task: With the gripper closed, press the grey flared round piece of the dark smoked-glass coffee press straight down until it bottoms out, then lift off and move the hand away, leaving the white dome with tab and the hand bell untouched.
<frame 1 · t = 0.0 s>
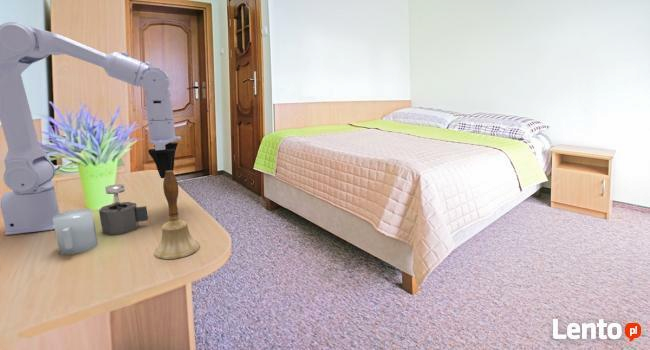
hand: (167, 174, 87), 10 cm above the table, tool pointing down, fingers open, 7 cm apart
grey flared round piece: (116, 200, 78), point 7 cm above the table, slide at 0.0 cm
white dome with tab: (79, 247, 70), on the table
hand bell: (177, 250, 69), on the table
press pot: (121, 228, 79), on the table
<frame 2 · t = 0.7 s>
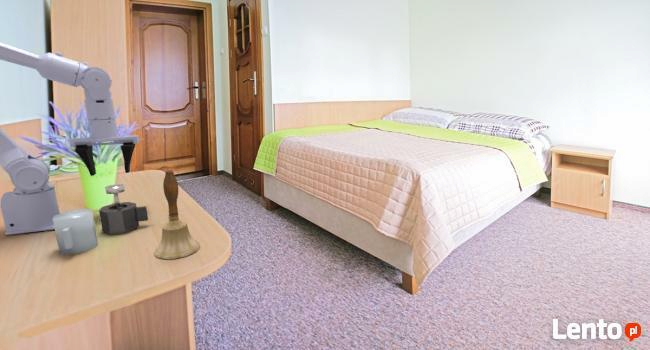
hand: (110, 173, 88), 10 cm above the table, tool pointing down, fingers open, 7 cm apart
nothing on the table moved.
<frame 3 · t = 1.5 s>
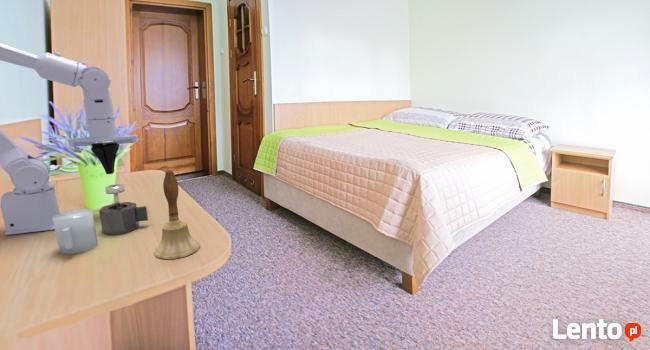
hand: (110, 173, 88), 10 cm above the table, tool pointing down, fingers closed
nothing on the table moved.
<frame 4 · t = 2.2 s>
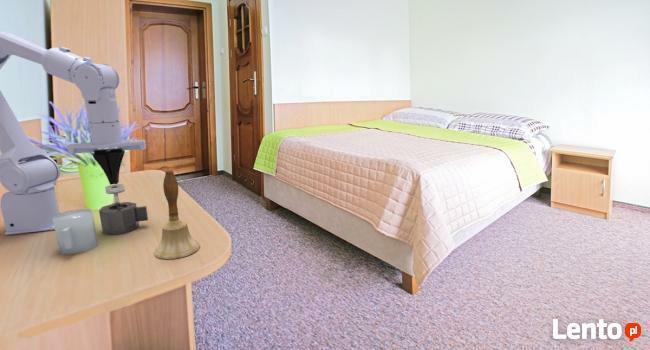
hand: (114, 183, 78), 10 cm above the table, tool pointing down, fingers closed
nothing on the table moved.
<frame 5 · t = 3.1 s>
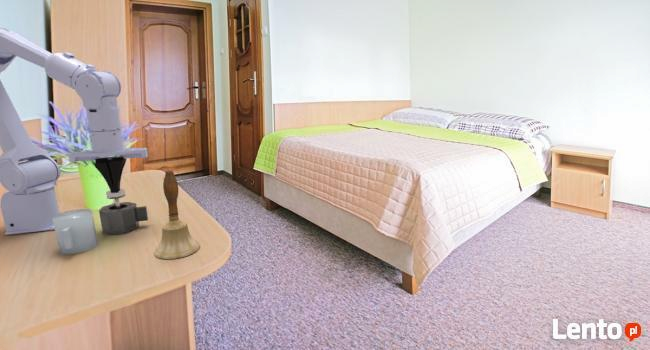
hand: (115, 191, 77), 9 cm above the table, tool pointing down, fingers closed, pressing on grey flared round piece
grey flared round piece: (117, 204, 78), point 6 cm above the table, slide at 1.1 cm, touching gripper
everything else where it was.
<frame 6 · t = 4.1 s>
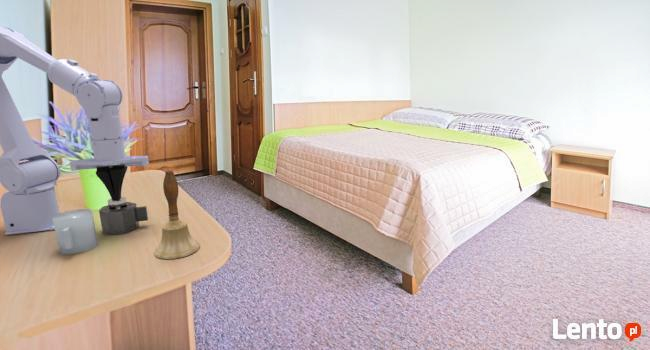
hand: (116, 199, 78), 7 cm above the table, tool pointing down, fingers closed
grey flared round piece: (119, 212, 78), point 4 cm above the table, slide at 3.0 cm
everything else where it was.
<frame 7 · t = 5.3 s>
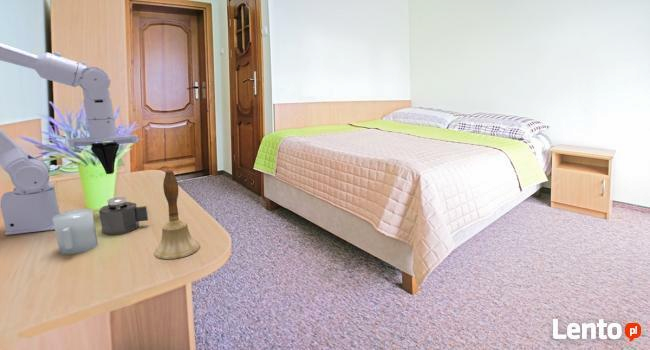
hand: (110, 173, 88), 10 cm above the table, tool pointing down, fingers closed
nothing on the table moved.
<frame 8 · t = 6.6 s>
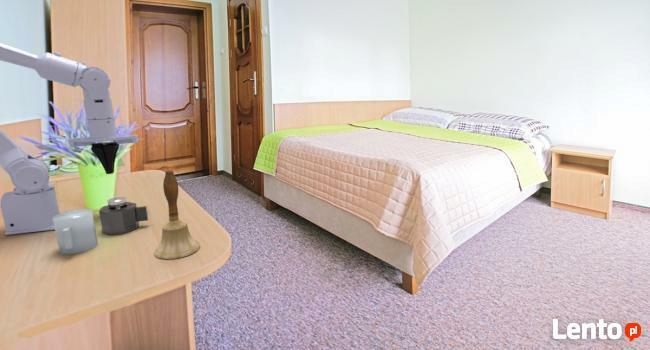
hand: (110, 173, 88), 10 cm above the table, tool pointing down, fingers closed
nothing on the table moved.
at the end: grey flared round piece slide at 3.0 cm; white dome with tab moved 0.1 cm from its start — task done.
